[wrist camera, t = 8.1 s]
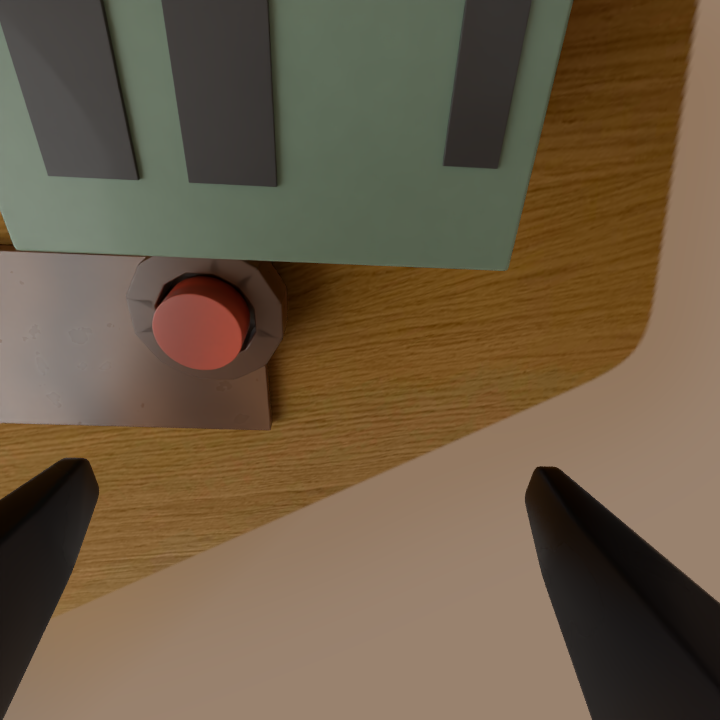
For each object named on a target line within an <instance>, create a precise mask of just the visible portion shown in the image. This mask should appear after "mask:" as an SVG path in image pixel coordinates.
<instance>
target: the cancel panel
mask: <svg viewBox="0 0 720 720" xmlns="http://www.w3.org/2000/svg"><path fill="white" fill-rule="evenodd" d="M197 276H205V277H212V278H216V279H219V280H221V281H223V282H225V283H227V284H229V285H230V286H232V287H233V288H234V289H236V290H237V291H238V292H239V293H240V295H241V296H242V297H243V299H244V300H245V302H246V304H247V306H248V309H249V312H250V326H249V330H248V332H247V335H246V337H245V340H244V343H243V345H242V348H241V350H240V352H239V354H238V355H237V357H236V358H235V359H234V360H233V361H232V362H230V363H229V364H227V365H225V366H223V367H221V368H218V369H213V370H198V369H193V368H189V367H186V366H184V365H181V364H179V363H178V362H176V361H174V360H173V359H171V358H170V357H169V356H168V355H167V354H166V353H165V352H164V351H163V350H162V349H161V348H160V346H159V345H158V343H157V341H156V339H155V337H154V333H153V328H152V321H153V316H154V313H155V311H156V309H157V307H158V306H159V305H160V304H161V302H162V301H163V300H164V299H165V297H166V296H167V295H168V294H169V292H170V291H171V290H172V289H173V288H174V286H176V285H177V284H178V283H179V282H181V281H183V280H185V279H187V278H191V277H197ZM287 320H288V311H287V288H286V285H285V284H284V282H283V281H282V279H281V277H280V276H279V274H278V273H277V271H276V270H275V268H274V267H273V265H272V264H271V262H270V261H259V260H235V259H211V258H187V257H163V256H139V255H115V254H91V253H67V252H43V251H20V250H16V249H15V247H14V245H0V423H20V424H56V425H93V426H130V427H167V428H204V429H241V430H271V426H272V412H271V399H270V385H269V372H268V361H269V360H270V358H271V357H272V355H273V353H274V352H275V350H276V349H277V347H278V346H279V344H280V342H281V341H282V339H283V336H284V332H285V328H286V324H287Z"/></svg>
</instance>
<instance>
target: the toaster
mask: <svg viewBox="0 0 720 720" xmlns="http://www.w3.org/2000/svg"><path fill="white" fill-rule="evenodd" d="M572 4H573V0H0V211H1V214H2V216H3V219H4V222H5V224H6V227H7V229H8V232H9V235H10V237H11V240H12V243H13V245H14V247H15V249H16V250H20V251H43V252H67V253H91V254H115V255H139V256H163V257H187V258H211V259H235V260H259V261H283V262H307V263H331V264H355V265H378V266H402V267H426V268H450V269H474V270H498V271H505V270H507V269H508V267H509V263H510V259H511V255H512V251H513V247H514V243H515V239H516V234H517V230H518V226H519V222H520V218H521V214H522V210H523V206H524V201H525V197H526V193H527V189H528V185H529V181H530V177H531V173H532V168H533V164H534V160H535V156H536V152H537V148H538V144H539V140H540V136H541V131H542V127H543V123H544V119H545V115H546V111H547V107H548V103H549V98H550V94H551V90H552V86H553V82H554V78H555V74H556V70H557V65H558V61H559V57H560V53H561V49H562V45H563V41H564V37H565V33H566V28H567V24H568V20H569V16H570V12H571V8H572Z"/></svg>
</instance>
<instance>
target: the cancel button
mask: <svg viewBox="0 0 720 720" xmlns="http://www.w3.org/2000/svg"><path fill="white" fill-rule="evenodd" d="M249 326H250V312H249V309H248V306H247V304H246V302H245V300H244V299H243V297H242V296H241V295H240V293H239V292H238V291H237V290H236V289H234V288H233V287H232V286H230V285H229V284H227V283H225V282H223V281H221V280H219V279H216V278H212V277H205V276H197V277H191V278H187V279H185V280H183V281H181V282H179V283H178V284H177V285H176V286H174V288H173V289H172V290H171V291H170V292H169V294H168V295H167V296H166V297H165V299H164V300H163V301H162V302H161V304H160V305H159V306H158V307H157V309H156V311H155V313H154V316H153V321H152V328H153V333H154V337H155V339H156V341H157V343H158V345H159V346H160V348H161V349H162V350H163V351H164V352H165V353H166V354H167V355H168V356H169V357H170V358H171V359H173V360H174V361H176V362H178V363H179V364H181V365H184V366H186V367H189V368H193V369H198V370H213V369H218V368H221V367H223V366H225V365H227V364H229V363H230V362H232V361H233V360H234V359H235V358H236V357H237V355H238V354H239V352H240V350H241V348H242V345H243V343H244V340H245V337H246V335H247V332H248V330H249Z"/></svg>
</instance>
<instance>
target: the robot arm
mask: <svg viewBox="0 0 720 720" xmlns="http://www.w3.org/2000/svg"><path fill="white" fill-rule="evenodd" d="M98 495H99V487H98V483H97V481H96V478H95V475H94V473H93V470H92V468H91V465H90V463H89V461H88V460H87V459H84V458H64V459H61V460H60V461H58V462H56V463H55V464H53V465H52V466H50V467H49V468H47V469H46V470H44V471H43V472H41V473H40V474H38V475H37V476H35V477H34V478H32V479H31V480H29V481H28V482H26V483H25V484H23V485H22V486H20V487H19V488H17V489H16V490H14V491H13V492H11V493H10V494H8V495H7V496H5V497H4V498H2V499H1V500H0V720H3V718H4V716H5V714H6V712H7V710H8V707H9V705H10V703H11V701H12V699H13V697H14V695H15V693H16V690H17V688H18V686H19V684H20V682H21V680H22V678H23V676H24V673H25V671H26V669H27V667H28V665H29V663H30V661H31V658H32V656H33V654H34V652H35V650H36V648H37V645H38V644H39V642H40V639H41V637H42V635H43V633H44V631H45V629H46V626H47V625H48V623H49V620H50V618H51V616H52V614H53V612H54V610H55V608H56V606H57V603H58V601H59V599H60V597H61V595H62V593H63V591H64V589H65V586H66V584H67V582H68V580H69V577H70V575H71V573H72V570H73V568H74V565H75V563H76V560H77V557H78V554H79V551H80V548H81V545H82V543H83V540H84V537H85V534H86V531H87V528H88V525H89V523H90V520H91V517H92V514H93V511H94V508H95V505H96V502H97V499H98ZM525 504H526V508H527V513H528V517H529V521H530V526H531V530H532V534H533V539H534V543H535V547H536V552H537V556H538V560H539V564H540V568H541V572H542V576H543V579H544V582H545V585H546V588H547V591H548V594H549V597H550V600H551V603H552V606H553V608H554V611H555V614H556V617H557V620H558V622H559V625H560V629H561V632H562V634H563V637H564V640H565V643H566V646H567V649H568V652H569V655H570V657H571V660H572V663H573V666H574V669H575V672H576V675H577V678H578V681H579V683H580V686H581V689H582V692H583V695H584V698H585V701H586V704H587V706H588V709H589V712H590V715H591V718H592V720H720V603H719V602H718V601H717V600H715V599H714V598H713V597H712V596H710V595H709V594H708V593H707V592H706V591H705V590H703V589H702V588H701V587H700V586H699V585H697V584H696V583H695V582H694V581H693V580H691V579H690V578H689V577H688V576H687V575H685V574H684V573H683V572H682V571H681V570H680V569H678V568H677V567H676V566H674V565H673V564H672V563H671V562H670V561H669V560H668V559H666V558H665V557H664V556H663V555H662V554H660V553H659V552H658V551H657V550H655V549H654V548H653V547H652V546H651V545H650V544H648V543H647V542H646V541H645V540H644V539H642V538H641V537H640V536H639V535H638V534H636V533H635V532H634V531H633V530H632V529H630V528H629V527H628V526H627V525H626V524H624V523H623V522H622V521H621V520H620V519H619V518H617V517H616V516H615V515H614V514H613V513H611V512H610V511H609V510H608V509H607V508H605V507H604V506H603V505H602V504H601V503H600V502H598V501H597V500H596V499H595V498H593V497H592V496H591V495H590V494H589V493H588V492H586V491H585V490H584V489H583V488H582V487H580V486H579V485H578V484H577V483H576V482H574V481H573V480H572V479H571V478H570V477H569V476H567V475H566V474H565V473H564V472H563V471H561V470H560V469H559V468H557V467H541V466H540V467H537V468H536V469H535V470H534V472H533V474H532V477H531V480H530V482H529V485H528V488H527V490H526V494H525Z"/></svg>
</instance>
